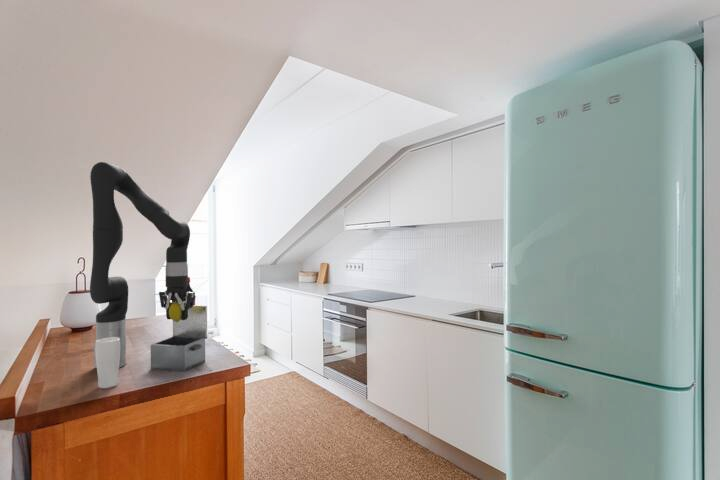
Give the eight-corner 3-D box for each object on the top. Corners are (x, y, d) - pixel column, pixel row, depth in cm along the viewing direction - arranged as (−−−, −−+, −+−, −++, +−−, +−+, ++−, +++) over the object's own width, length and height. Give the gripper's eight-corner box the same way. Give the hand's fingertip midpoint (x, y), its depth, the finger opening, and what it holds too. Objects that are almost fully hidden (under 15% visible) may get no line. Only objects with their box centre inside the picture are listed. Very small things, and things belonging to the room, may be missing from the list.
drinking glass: (95, 391, 116) (95, 343, 116) (95, 385, 122) (94, 339, 122) (121, 386, 120) (121, 340, 120) (120, 380, 126) (119, 335, 126)
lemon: (181, 320, 144) (181, 299, 144) (187, 322, 140) (187, 300, 140) (166, 322, 140) (166, 301, 140) (172, 324, 136) (172, 302, 136)
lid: (172, 305, 148) (175, 304, 150) (172, 337, 148) (175, 336, 150) (205, 306, 145) (208, 305, 147) (205, 339, 145) (208, 338, 147)
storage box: (147, 369, 137) (147, 344, 137) (170, 358, 148) (170, 335, 148) (187, 372, 133) (187, 346, 133) (207, 361, 145) (207, 338, 145)
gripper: (152, 274, 138) (153, 320, 138) (186, 275, 135) (187, 322, 135) (167, 273, 145) (167, 316, 145) (200, 273, 142) (200, 318, 142)
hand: (177, 319), depth 140 cm, fingers closed on lemon, 5 cm apart
